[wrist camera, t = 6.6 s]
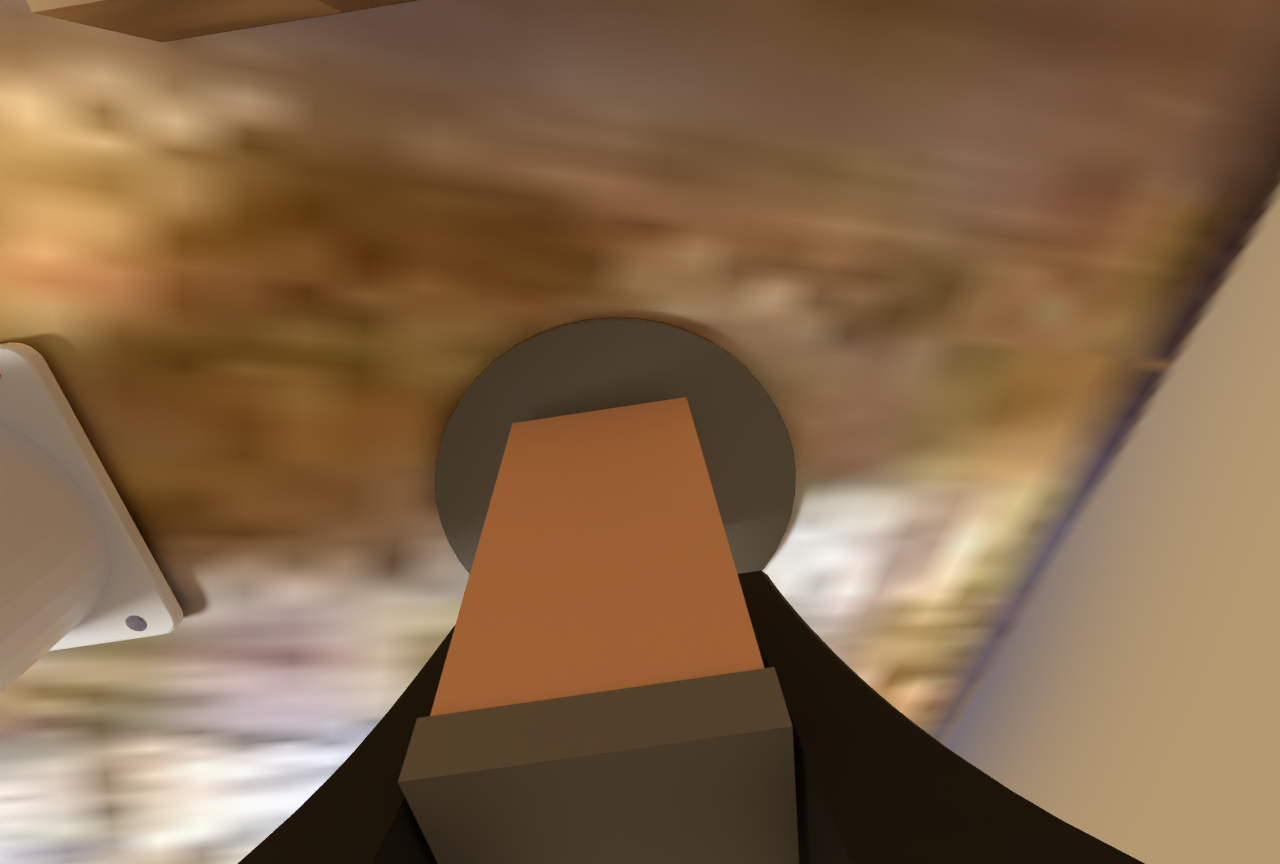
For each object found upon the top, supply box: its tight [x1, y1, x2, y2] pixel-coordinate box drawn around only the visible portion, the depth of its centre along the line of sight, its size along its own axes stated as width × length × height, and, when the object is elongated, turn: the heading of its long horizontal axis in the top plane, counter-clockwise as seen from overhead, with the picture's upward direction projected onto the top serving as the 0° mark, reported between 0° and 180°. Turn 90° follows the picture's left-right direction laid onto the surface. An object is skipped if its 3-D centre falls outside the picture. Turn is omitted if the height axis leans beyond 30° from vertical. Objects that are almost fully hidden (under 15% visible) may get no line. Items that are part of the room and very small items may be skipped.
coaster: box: [435, 317, 795, 574], centre depth 16 cm, size 9×9×1 cm
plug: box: [398, 397, 799, 864], centre depth 12 cm, size 4×4×9 cm
